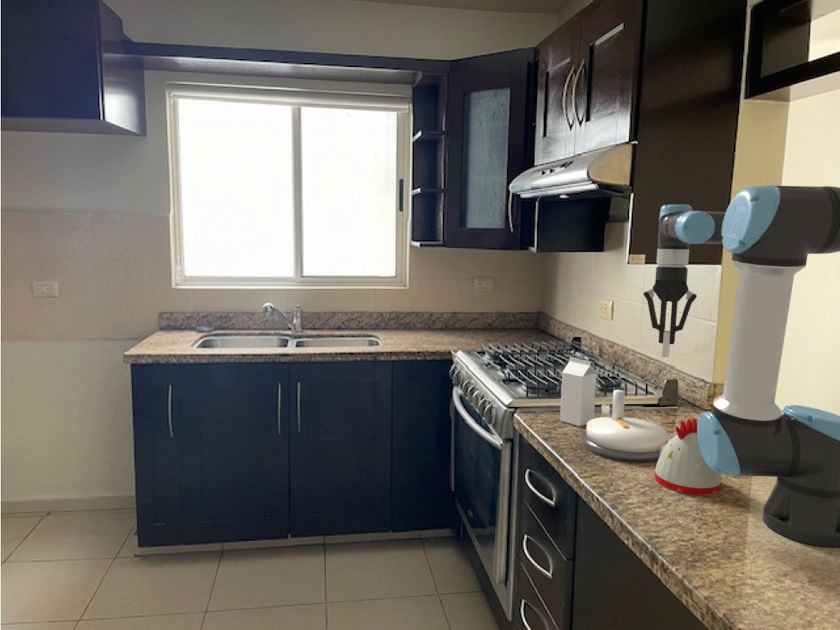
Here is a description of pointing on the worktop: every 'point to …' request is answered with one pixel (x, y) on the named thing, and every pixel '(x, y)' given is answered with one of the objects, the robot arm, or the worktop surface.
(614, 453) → the dial base
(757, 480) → the worktop surface
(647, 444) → the dial
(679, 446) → the kitchen timer
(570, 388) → the milk carton
